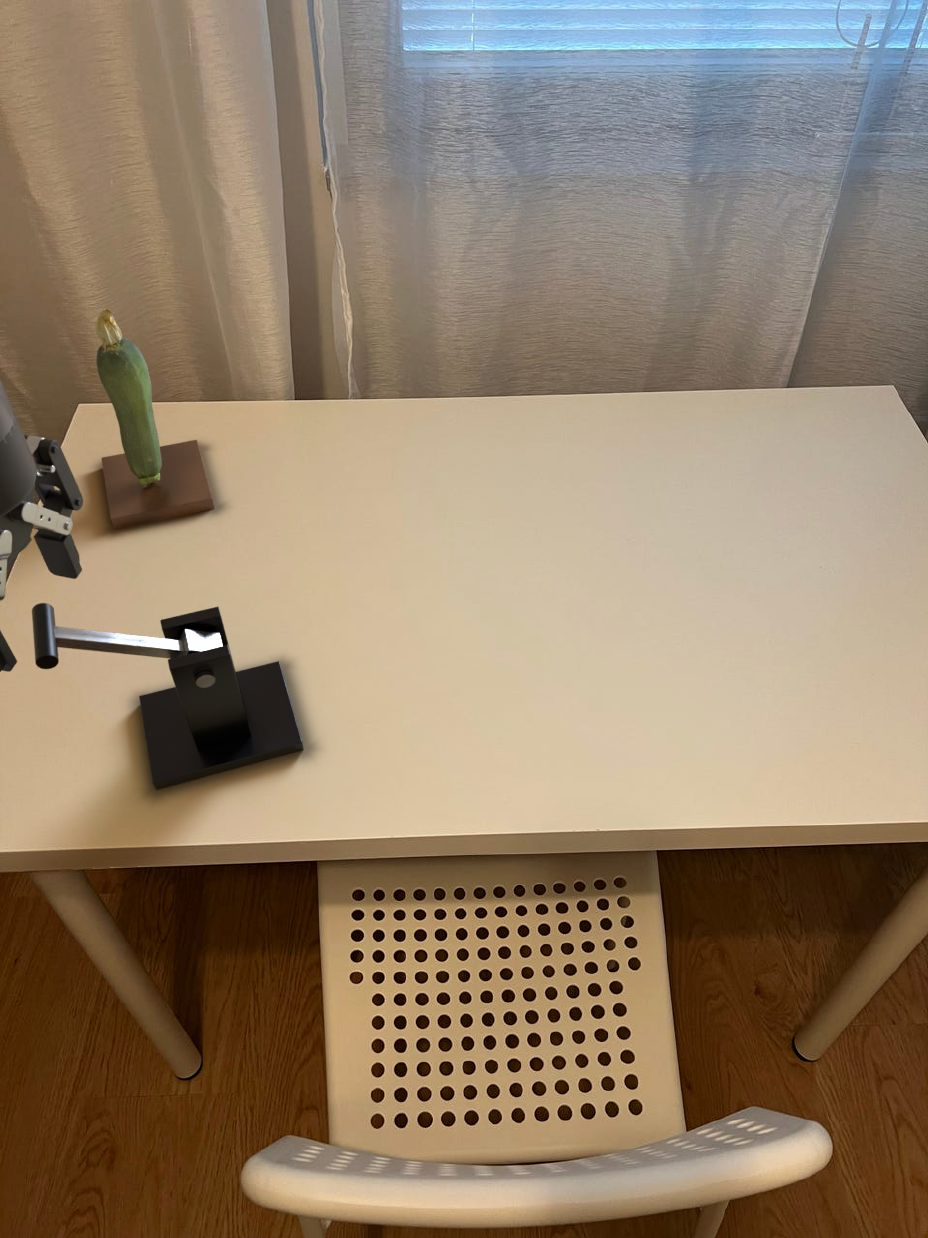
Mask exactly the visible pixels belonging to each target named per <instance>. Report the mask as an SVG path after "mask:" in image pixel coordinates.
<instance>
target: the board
mask: <svg viewBox="0 0 928 1238" xmlns="http://www.w3.org/2000/svg"><path fill="white" fill-rule="evenodd" d="M160 453H161V461H162V466H161V470H160V472H159V473H160V481H156V482H152V483H150V484H147V485H146V487H145V488H144V487H143V486H141V484H140V481H139V479H138V478H137V476H136V475H134V474H133V472H132V471H131V470H130V467H129V465H128V462H127V459H126V456H125V453H119V454H113V455H108V456H102V457H101V466H102V472H103V478H104V485H105V492H106V497H107V504H108V510H109V516H110V521H111V523H112V527H113V529H114V530H118V529H122V528H128V527H133V526H137V525H143V524H147V523H152V522H156V521H162V520H166V519H172V518H176V517H181V516H186V515H190V514H195V513H200V512H204V511H211V510H215V509H216V507H215V504H214V499H213V495H212V491H211V487H210V484H209V480H208V477H207V472H206V468H205V465H204V461H203V457H202V454H201V449H200V446H199V442H198V440H197V439H193V440H187V441H182V442H176V443H172V444H167V445H162V446H161V445H160Z"/></svg>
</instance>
